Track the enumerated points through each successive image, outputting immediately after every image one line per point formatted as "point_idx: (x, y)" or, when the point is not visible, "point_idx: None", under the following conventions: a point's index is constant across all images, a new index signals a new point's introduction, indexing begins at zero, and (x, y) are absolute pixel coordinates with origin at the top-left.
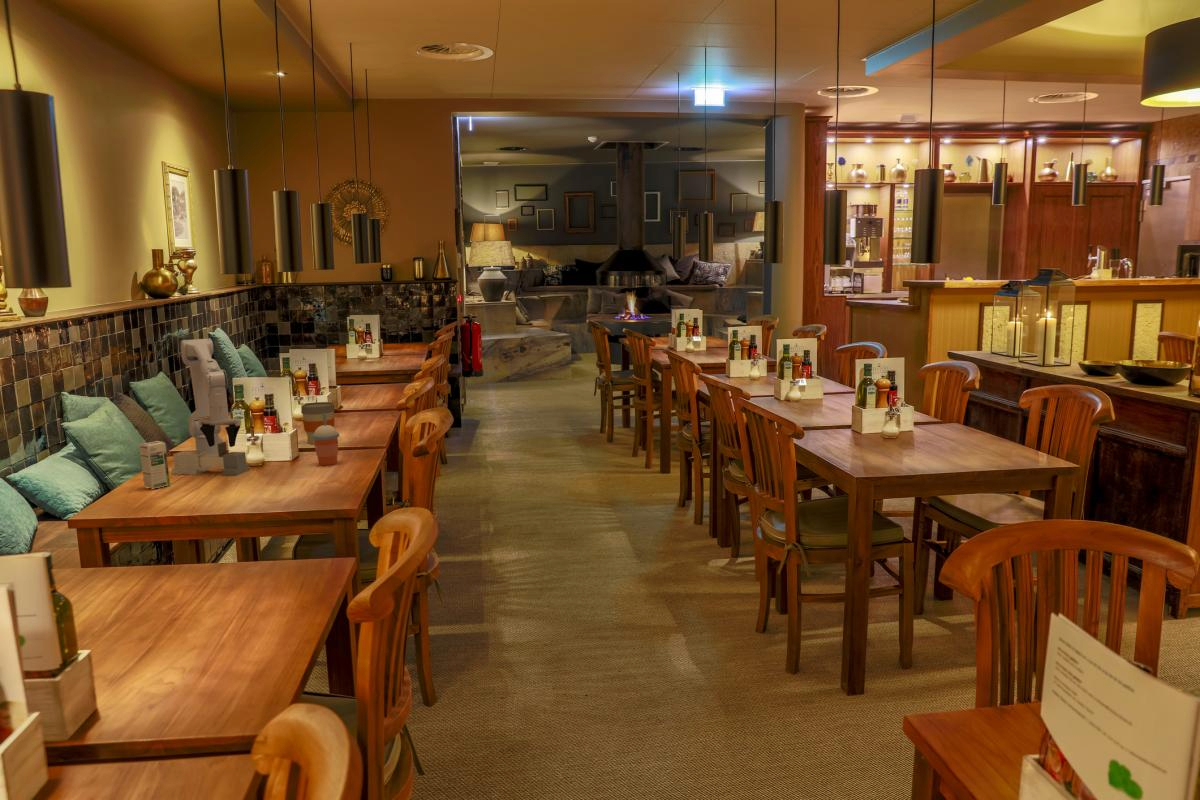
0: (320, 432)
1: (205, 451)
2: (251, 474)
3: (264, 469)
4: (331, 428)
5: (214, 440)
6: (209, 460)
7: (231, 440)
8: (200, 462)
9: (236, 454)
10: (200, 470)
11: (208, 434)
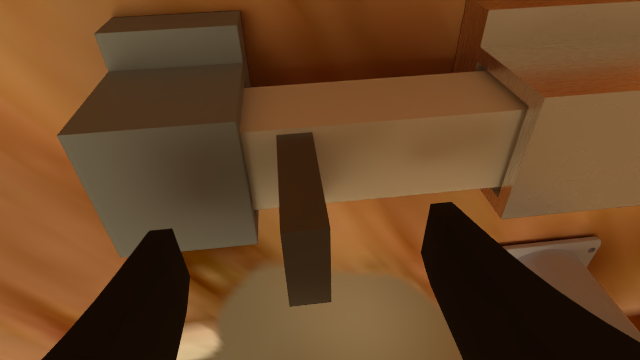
0: None
1: (510, 216)
2: (20, 76)
3: (76, 203)
4: None
5: (439, 305)
6: (404, 101)
7: (98, 301)
8: (487, 87)
9: (107, 173)
10: (464, 58)
11: (522, 340)
